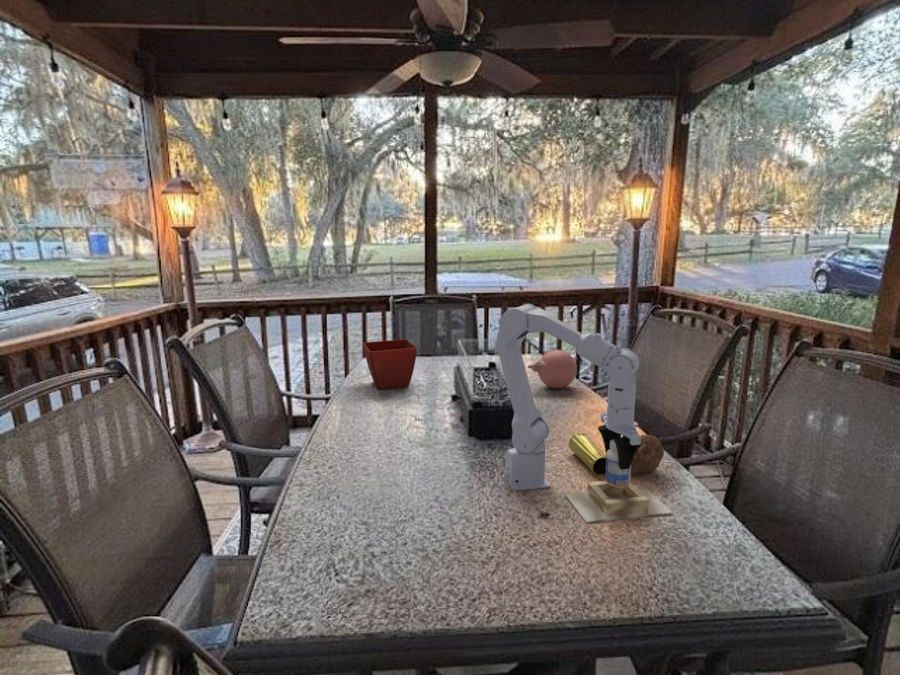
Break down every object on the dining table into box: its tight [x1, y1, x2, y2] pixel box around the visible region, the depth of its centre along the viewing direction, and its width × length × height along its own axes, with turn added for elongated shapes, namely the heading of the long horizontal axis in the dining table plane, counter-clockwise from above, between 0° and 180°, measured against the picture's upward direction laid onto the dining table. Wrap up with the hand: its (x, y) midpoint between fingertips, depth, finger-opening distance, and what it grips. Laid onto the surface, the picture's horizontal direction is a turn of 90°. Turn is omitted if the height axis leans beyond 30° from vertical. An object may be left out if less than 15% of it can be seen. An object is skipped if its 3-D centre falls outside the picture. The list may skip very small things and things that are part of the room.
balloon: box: [527, 349, 578, 390], centre depth 202 cm, size 15×20×15 cm
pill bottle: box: [605, 439, 632, 488], centre depth 114 cm, size 6×5×10 cm
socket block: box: [564, 480, 673, 524], centre depth 115 cm, size 20×12×3 cm, turn 99°
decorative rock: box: [621, 434, 665, 476], centre depth 131 cm, size 13×11×10 cm
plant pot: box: [362, 338, 418, 390], centre depth 209 cm, size 19×19×17 cm
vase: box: [568, 432, 606, 477], centre depth 136 cm, size 6×6×14 cm
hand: (617, 462), depth 114 cm, fingers closed on pill bottle, 5 cm apart
